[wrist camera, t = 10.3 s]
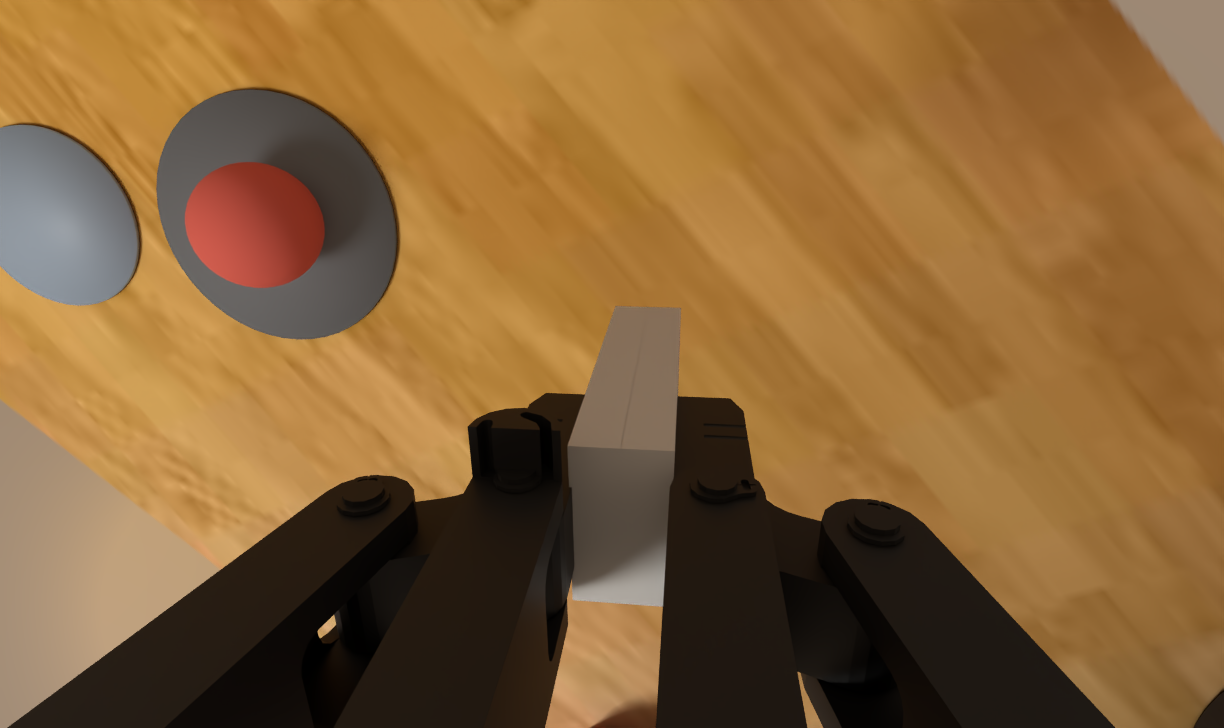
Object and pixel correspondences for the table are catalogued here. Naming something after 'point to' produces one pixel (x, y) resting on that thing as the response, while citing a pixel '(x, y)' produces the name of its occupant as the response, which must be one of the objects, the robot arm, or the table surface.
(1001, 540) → the table surface
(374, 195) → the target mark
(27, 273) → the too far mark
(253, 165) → the ball
